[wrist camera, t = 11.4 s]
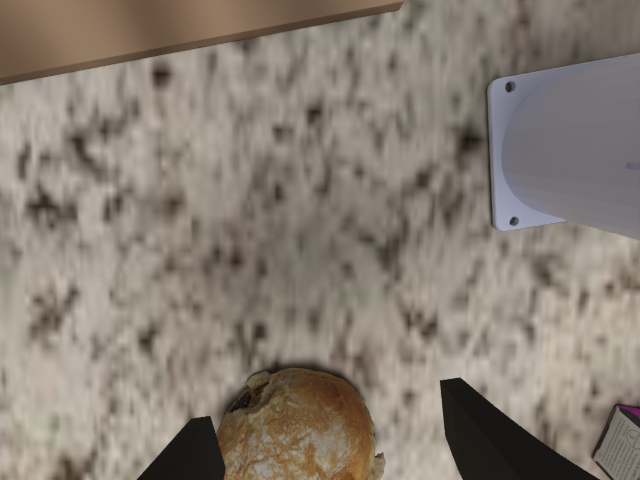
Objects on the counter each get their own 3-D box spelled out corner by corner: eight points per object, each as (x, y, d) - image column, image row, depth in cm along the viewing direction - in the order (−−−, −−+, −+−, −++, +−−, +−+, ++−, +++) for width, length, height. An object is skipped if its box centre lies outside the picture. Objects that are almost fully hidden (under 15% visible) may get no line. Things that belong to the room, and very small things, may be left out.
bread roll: (313, 321, 25) (259, 350, 18) (421, 435, 23) (413, 527, 15) (233, 409, 27) (154, 469, 20) (324, 524, 24) (273, 646, 17)
